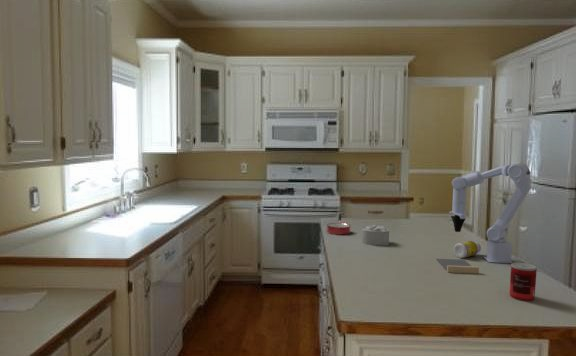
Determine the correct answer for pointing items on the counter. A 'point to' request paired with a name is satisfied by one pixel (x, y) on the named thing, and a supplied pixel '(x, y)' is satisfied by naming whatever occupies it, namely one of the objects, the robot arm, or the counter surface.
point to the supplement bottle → (466, 249)
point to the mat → (457, 266)
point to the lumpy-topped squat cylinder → (375, 235)
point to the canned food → (523, 281)
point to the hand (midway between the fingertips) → (457, 231)
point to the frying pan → (338, 228)
